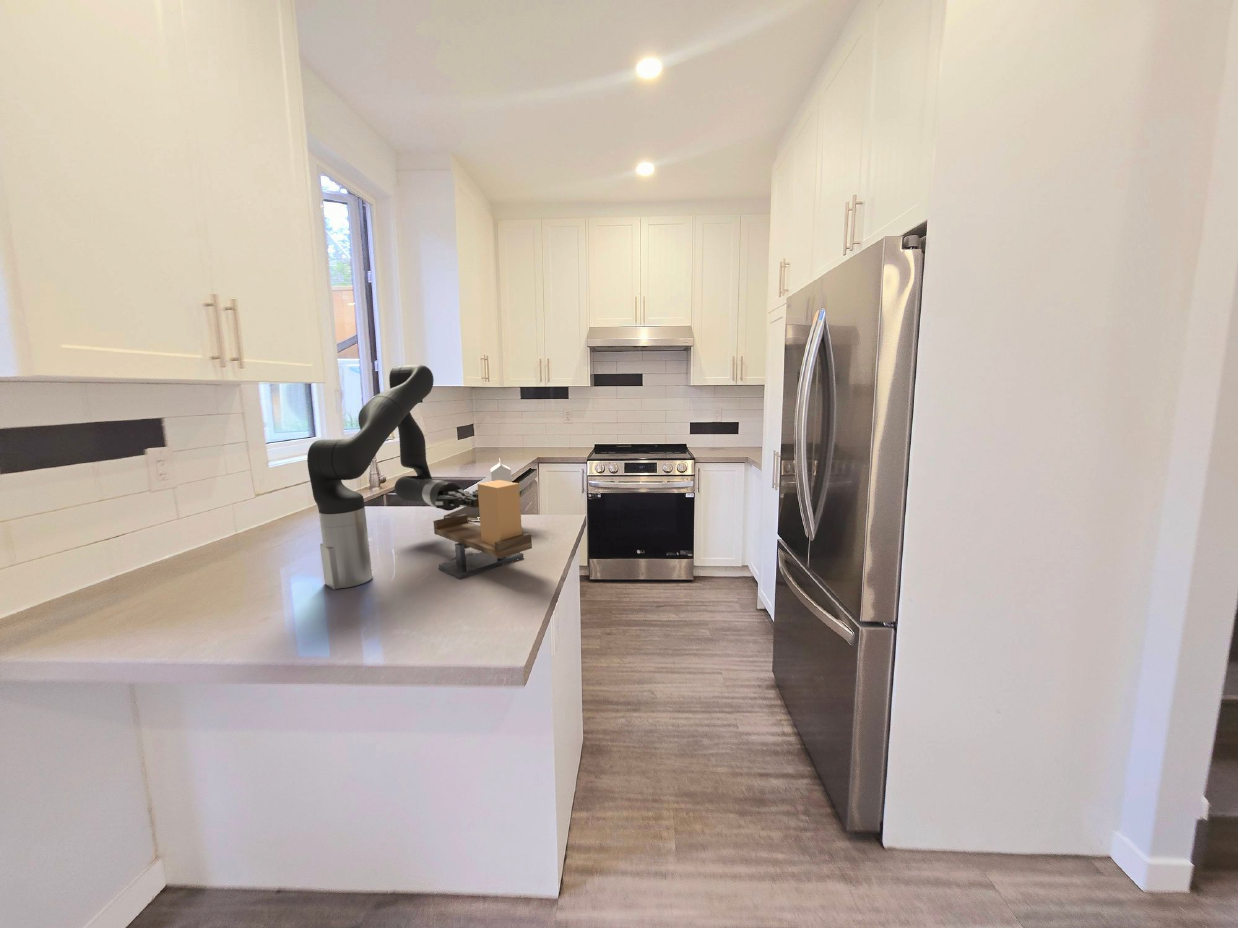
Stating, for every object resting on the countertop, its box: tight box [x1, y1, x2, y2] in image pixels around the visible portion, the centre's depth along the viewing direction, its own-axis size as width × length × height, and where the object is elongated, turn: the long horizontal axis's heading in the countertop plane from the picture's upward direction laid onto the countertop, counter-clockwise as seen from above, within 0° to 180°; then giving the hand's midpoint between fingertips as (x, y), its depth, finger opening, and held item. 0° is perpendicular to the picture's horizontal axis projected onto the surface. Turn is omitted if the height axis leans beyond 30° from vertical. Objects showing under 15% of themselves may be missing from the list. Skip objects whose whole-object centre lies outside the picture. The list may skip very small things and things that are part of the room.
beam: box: [432, 514, 533, 559], centre depth 124 cm, size 30×9×4 cm, turn 47°
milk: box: [489, 457, 513, 482], centre depth 154 cm, size 6×6×22 cm
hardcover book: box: [443, 506, 480, 520], centre depth 177 cm, size 16×23×2 cm
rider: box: [476, 480, 523, 546], centre depth 117 cm, size 6×8×14 cm
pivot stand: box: [438, 542, 524, 580], centre depth 125 cm, size 10×18×6 cm, turn 137°
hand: (476, 503), depth 123 cm, fingers closed
